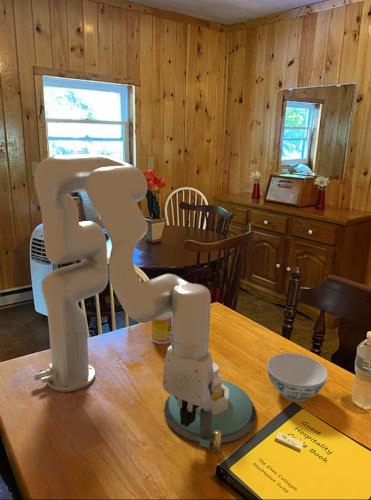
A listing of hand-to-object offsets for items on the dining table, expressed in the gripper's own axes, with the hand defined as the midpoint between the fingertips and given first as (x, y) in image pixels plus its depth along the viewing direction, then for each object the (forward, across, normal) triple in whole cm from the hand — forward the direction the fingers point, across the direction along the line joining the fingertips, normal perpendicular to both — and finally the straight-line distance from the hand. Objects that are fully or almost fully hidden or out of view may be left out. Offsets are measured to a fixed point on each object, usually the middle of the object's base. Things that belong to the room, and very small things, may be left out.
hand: (187, 422), depth 84 cm
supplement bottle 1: (+6, -32, +34) cm, 47 cm away
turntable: (+4, 0, +10) cm, 11 cm away
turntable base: (+6, -1, +12) cm, 13 cm away
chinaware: (+6, +13, +31) cm, 34 cm away
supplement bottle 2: (+3, -1, +12) cm, 12 cm away
